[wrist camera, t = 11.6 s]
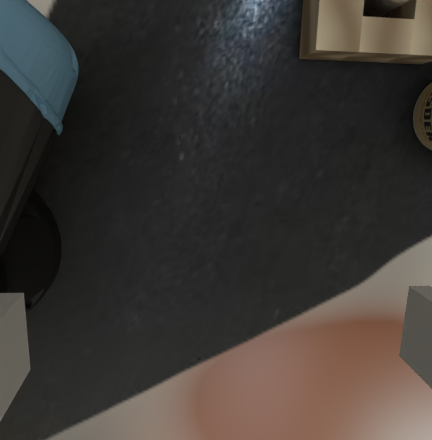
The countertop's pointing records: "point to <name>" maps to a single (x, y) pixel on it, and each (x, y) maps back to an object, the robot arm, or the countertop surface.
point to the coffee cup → (424, 117)
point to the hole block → (366, 32)
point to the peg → (380, 7)
